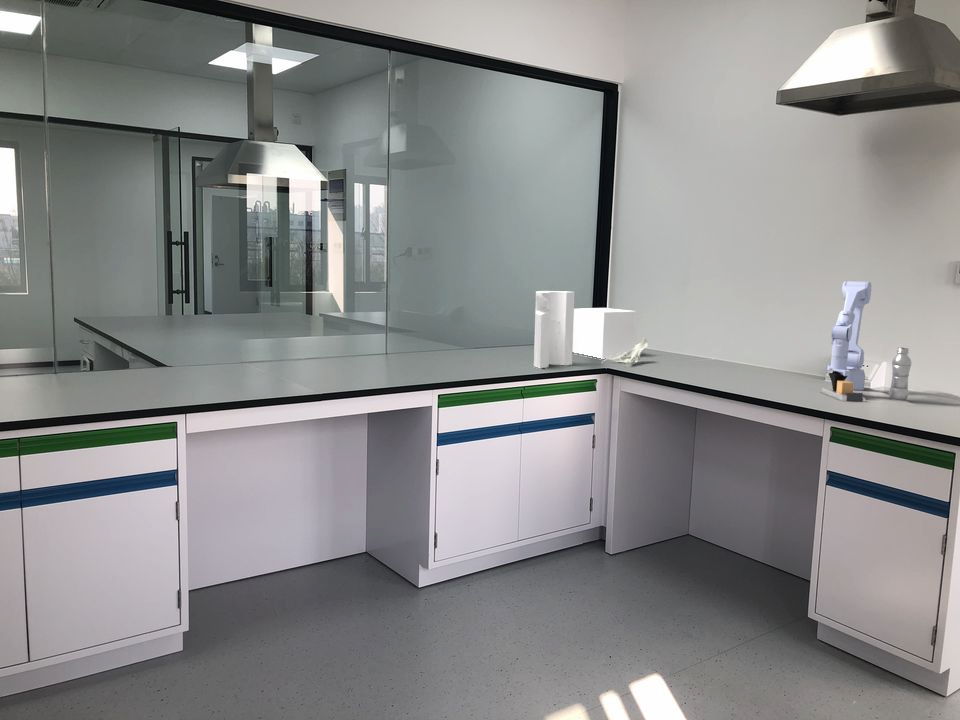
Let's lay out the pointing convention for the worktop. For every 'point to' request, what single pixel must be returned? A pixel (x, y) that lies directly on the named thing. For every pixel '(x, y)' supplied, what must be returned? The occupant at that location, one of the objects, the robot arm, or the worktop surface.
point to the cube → (603, 331)
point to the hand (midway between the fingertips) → (836, 391)
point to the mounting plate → (841, 397)
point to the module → (844, 387)
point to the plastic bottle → (900, 375)
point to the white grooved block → (553, 328)
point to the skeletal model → (630, 354)
